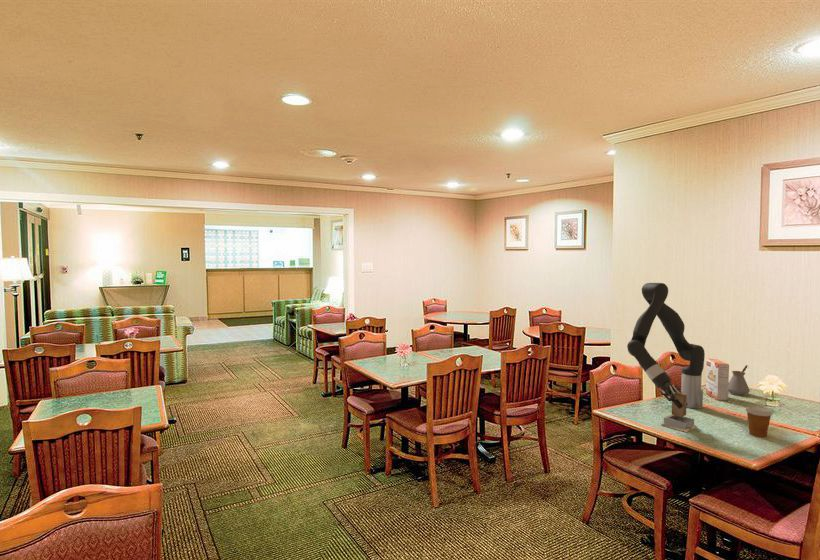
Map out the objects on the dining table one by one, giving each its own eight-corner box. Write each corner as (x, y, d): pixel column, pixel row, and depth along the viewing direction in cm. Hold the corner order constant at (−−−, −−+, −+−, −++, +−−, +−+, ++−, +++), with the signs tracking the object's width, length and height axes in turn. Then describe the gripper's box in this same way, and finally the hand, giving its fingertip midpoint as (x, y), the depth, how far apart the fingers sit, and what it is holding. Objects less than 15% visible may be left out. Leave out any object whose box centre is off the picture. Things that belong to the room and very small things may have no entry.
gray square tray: (671, 420, 231) (672, 413, 231) (696, 427, 222) (696, 419, 222) (661, 425, 224) (661, 417, 224) (686, 432, 215) (686, 424, 215)
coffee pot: (745, 397, 272) (746, 371, 271) (722, 393, 281) (723, 368, 280) (757, 391, 285) (758, 366, 285) (735, 387, 294) (736, 363, 294)
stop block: (675, 412, 226) (676, 391, 226) (686, 415, 222) (686, 393, 222) (671, 414, 223) (672, 393, 223) (681, 416, 220) (682, 395, 219)
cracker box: (704, 393, 279) (706, 358, 279) (715, 394, 279) (717, 358, 278) (716, 400, 266) (718, 363, 265) (728, 401, 265) (729, 363, 264)
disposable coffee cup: (762, 440, 207) (763, 412, 206) (740, 432, 215) (741, 406, 215) (776, 437, 210) (777, 410, 210) (753, 430, 219) (754, 404, 219)
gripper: (656, 373, 224) (683, 405, 215) (670, 369, 232) (696, 400, 223) (645, 382, 228) (670, 413, 219) (659, 378, 237) (684, 408, 228)
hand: (683, 406), depth 221 cm, fingers closed on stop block, 4 cm apart
